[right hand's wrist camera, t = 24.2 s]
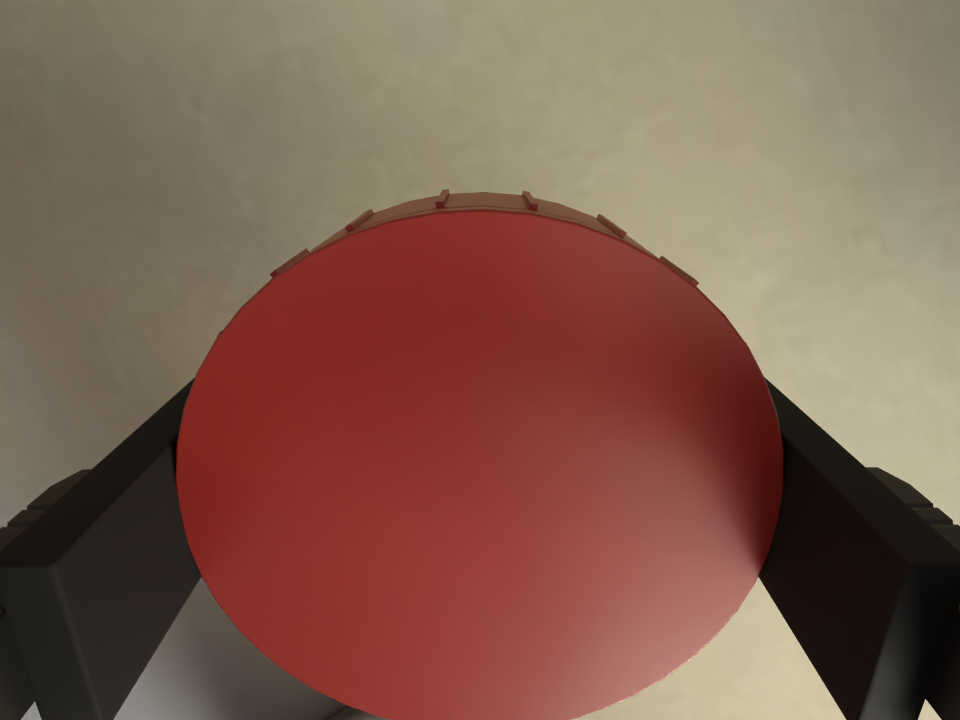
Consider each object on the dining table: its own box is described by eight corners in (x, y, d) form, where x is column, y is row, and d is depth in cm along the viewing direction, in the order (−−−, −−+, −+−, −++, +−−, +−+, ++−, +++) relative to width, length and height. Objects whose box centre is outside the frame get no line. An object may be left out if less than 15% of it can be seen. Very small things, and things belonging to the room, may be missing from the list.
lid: (163, 223, 11) (77, 248, 8) (740, 152, 10) (814, 159, 8) (291, 654, 14) (255, 753, 12) (724, 615, 14) (773, 711, 11)
